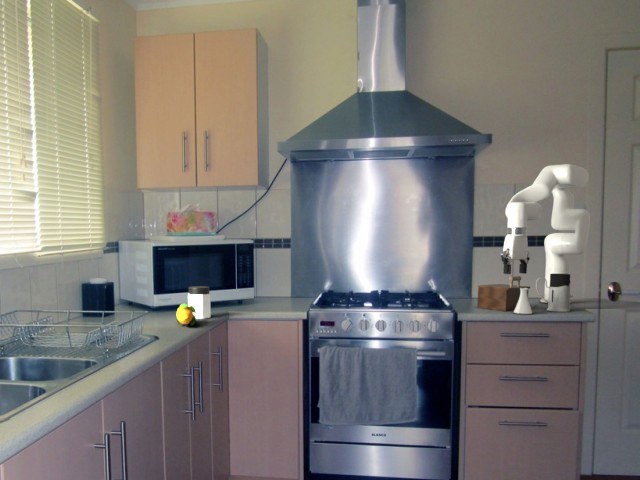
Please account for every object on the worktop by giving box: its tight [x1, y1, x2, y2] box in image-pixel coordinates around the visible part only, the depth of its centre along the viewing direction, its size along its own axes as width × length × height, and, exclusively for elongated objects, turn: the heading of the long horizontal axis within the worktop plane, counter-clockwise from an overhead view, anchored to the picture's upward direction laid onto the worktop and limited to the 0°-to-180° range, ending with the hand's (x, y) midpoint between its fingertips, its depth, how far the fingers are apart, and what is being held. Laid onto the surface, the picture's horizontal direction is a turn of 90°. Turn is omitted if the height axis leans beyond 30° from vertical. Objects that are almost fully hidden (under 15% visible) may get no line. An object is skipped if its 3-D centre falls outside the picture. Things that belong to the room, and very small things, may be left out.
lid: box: [477, 275, 531, 290], centre depth 278 cm, size 16×14×5 cm
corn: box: [175, 303, 197, 326], centre depth 237 cm, size 7×8×20 cm
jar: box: [187, 285, 212, 320], centre depth 257 cm, size 9×8×12 cm
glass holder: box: [535, 273, 571, 313], centre depth 272 cm, size 9×14×15 cm, turn 89°
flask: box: [513, 288, 533, 315], centre depth 263 cm, size 7×7×10 cm
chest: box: [477, 286, 529, 312], centre depth 279 cm, size 15×14×9 cm
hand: (515, 273), depth 273 cm, fingers open, 9 cm apart
